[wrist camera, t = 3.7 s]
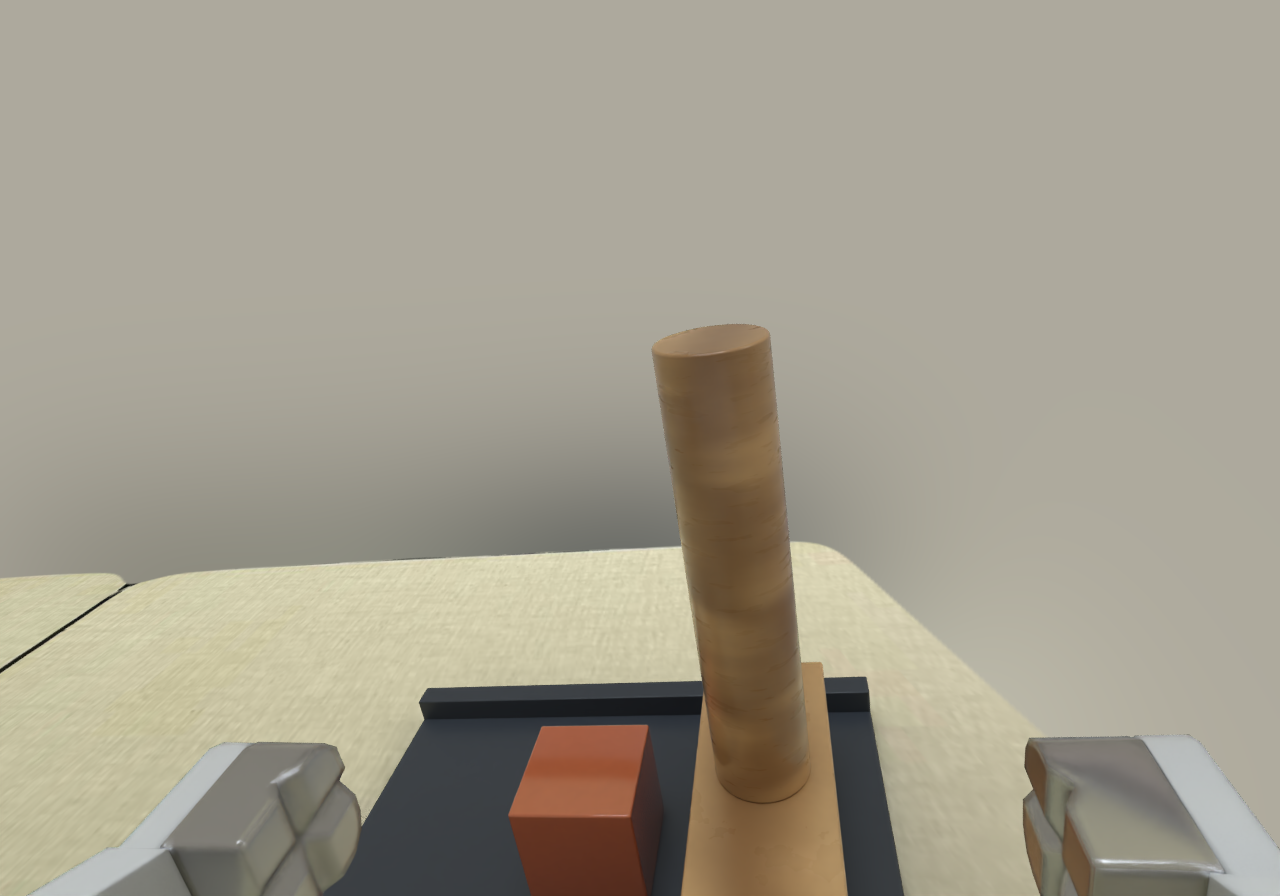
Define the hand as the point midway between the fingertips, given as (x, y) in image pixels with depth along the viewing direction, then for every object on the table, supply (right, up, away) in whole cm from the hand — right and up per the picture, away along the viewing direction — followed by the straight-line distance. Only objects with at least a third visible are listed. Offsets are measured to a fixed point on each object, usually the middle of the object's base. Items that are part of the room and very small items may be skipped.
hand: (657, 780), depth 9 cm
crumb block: (-2, -10, +18) cm, 21 cm away
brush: (+4, -10, +17) cm, 20 cm away
